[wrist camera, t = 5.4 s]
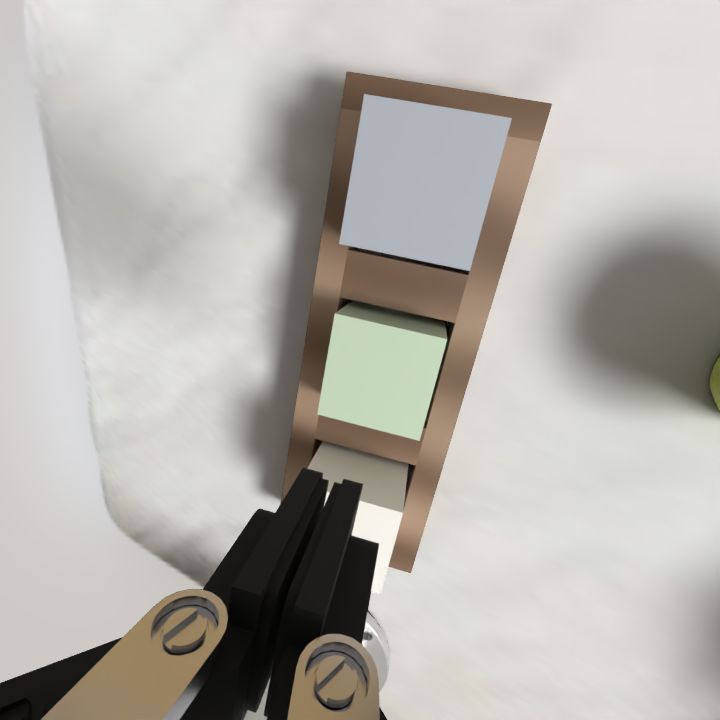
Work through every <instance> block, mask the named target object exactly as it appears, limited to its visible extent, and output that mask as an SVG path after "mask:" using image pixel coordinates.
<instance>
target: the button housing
mask: <svg viewBox="0 0 720 720" xmlns="http://www.w3.org/2000/svg"><path fill="white" fill-rule="evenodd" d="M364 94H367V95H373V96H380V97H386V98H392V99H398V100H404V101H410V102H416V103H423V104H429V105H435V106H441V107H447V108H453V109H459V110H465V111H472V112H478V113H484V114H490V115H496V116H502V117H508V118H512V120H511V123H510V127H509V131H508V134H507V138H506V141H505V145H504V149H503V152H502V156H501V160H500V163H499V167H498V170H497V174H496V178H495V181H494V185H493V189H492V192H491V196H490V199H489V203H488V207H487V210H486V214H485V218H484V221H483V225H482V229H481V232H480V236H479V239H478V243H477V247H476V250H475V254H474V258H473V261H472V265H471V268H470V271H467V270H464V271H461V270H456V269H451V268H446V267H442V266H437V265H432V264H427V263H422V262H418V261H413V260H408V259H403V258H398V257H394V256H389V255H384V254H379V253H374V252H370V251H365V250H360V249H358V248H357V247H352V246H347V245H342V244H339V241H340V235H341V229H342V224H343V218H344V212H345V206H346V200H347V194H348V188H349V182H350V176H351V170H352V164H353V158H354V152H355V146H356V140H357V134H358V128H359V122H360V116H361V110H362V104H363V98H364ZM551 105H552V104H550V103H544V102H538V101H531V100H525V99H518V98H512V97H506V96H499V95H493V94H487V93H480V92H474V91H468V90H461V89H455V88H449V87H442V86H436V85H430V84H423V83H417V82H410V81H404V80H398V79H391V78H385V77H379V76H372V75H366V74H360V73H353V72H347V73H346V79H345V86H344V92H343V99H342V105H341V112H340V118H339V125H338V131H337V138H336V144H335V151H334V158H333V164H332V171H331V177H330V184H329V190H328V197H327V203H326V210H325V216H324V223H323V229H322V236H321V242H320V249H319V255H318V262H317V269H316V275H315V282H314V288H313V295H312V301H311V308H310V314H309V321H308V327H307V334H306V340H305V347H304V353H303V360H302V367H301V373H300V380H299V386H298V393H297V399H296V406H295V412H294V419H293V425H292V432H291V438H290V445H289V451H288V458H287V464H286V471H285V478H284V484H283V491H282V497H281V503H282V501H283V500H284V498H285V496H286V495H287V493H288V491H289V490H290V488H291V486H292V485H293V483H294V481H295V480H296V478H297V476H298V475H299V473H300V471H301V470H302V468H308V466H309V465H310V463H311V461H312V459H313V457H314V456H315V454H316V452H317V450H318V448H319V447H320V445H321V443H322V441H326V442H330V443H333V444H337V445H341V446H345V447H348V448H352V449H356V450H360V451H363V452H367V453H371V454H374V455H378V456H382V457H386V458H389V459H393V460H397V461H401V462H404V463H408V464H412V465H411V469H410V472H409V476H408V480H407V483H406V491H405V500H404V509H403V515H402V519H401V522H400V526H399V530H398V533H397V537H396V541H395V544H394V548H393V551H392V555H391V559H390V562H389V567H392V568H395V569H399V570H402V571H405V572H409V573H411V571H412V567H413V564H414V561H415V557H416V554H417V551H418V547H419V544H420V541H421V537H422V534H423V531H424V527H425V524H426V521H427V517H428V514H429V511H430V507H431V504H432V501H433V497H434V494H435V491H436V487H437V484H438V481H439V478H440V474H441V471H442V468H443V464H444V461H445V458H446V454H447V451H448V448H449V444H450V441H451V438H452V434H453V431H454V428H455V424H456V421H457V418H458V414H459V411H460V408H461V404H462V401H463V398H464V394H465V391H466V388H467V384H468V381H469V378H470V375H471V371H472V368H473V365H474V361H475V358H476V355H477V351H478V348H479V345H480V341H481V338H482V335H483V331H484V328H485V325H486V321H487V318H488V315H489V311H490V308H491V305H492V301H493V298H494V295H495V291H496V288H497V285H498V281H499V278H500V275H501V272H502V268H503V265H504V262H505V258H506V255H507V252H508V248H509V245H510V242H511V238H512V235H513V232H514V228H515V225H516V222H517V218H518V215H519V212H520V208H521V205H522V202H523V198H524V195H525V192H526V188H527V185H528V182H529V179H530V175H531V172H532V169H533V165H534V162H535V159H536V155H537V152H538V149H539V145H540V142H541V139H542V135H543V132H544V129H545V125H546V122H547V119H548V115H549V112H550V109H551ZM349 299H350V300H355V301H359V302H364V303H368V304H373V305H377V306H382V307H386V308H390V309H395V310H399V311H404V312H408V313H413V314H417V315H422V316H426V317H431V318H435V319H440V320H444V321H449V322H450V325H449V328H448V332H447V342H446V346H445V350H444V353H443V357H442V361H441V364H440V368H439V372H438V375H437V379H436V383H435V386H434V390H433V394H432V397H431V401H430V405H429V408H428V412H427V416H426V419H425V423H424V427H423V430H422V434H421V438H420V441H418V440H414V439H410V438H406V437H403V436H399V435H395V434H391V433H387V432H383V431H379V430H376V429H372V428H368V427H364V426H360V425H356V424H353V423H349V422H345V421H341V420H337V419H333V418H329V417H326V416H322V415H318V414H317V413H318V407H319V401H320V396H321V390H322V384H323V378H324V373H325V367H326V361H327V355H328V350H329V344H330V338H331V332H332V327H333V321H334V315H335V313H336V312H338V311H339V310H340V309H342V308H343V307H344V306H346V305H347V304H348V302H349ZM280 505H281V504H280Z"/></svg>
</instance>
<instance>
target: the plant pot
mask: <svg viewBox="0 0 720 720" xmlns="http://www.w3.org/2000/svg"><path fill="white" fill-rule="evenodd" d="M710 390H711V392H712V395H713V398H714V400H715V402H716V405H717V407H718V409H719V410H720V356H719V357H718V359H717V361H716V363H715V365H714V367H713V370H712V373H711V376H710Z"/></svg>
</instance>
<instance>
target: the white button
mask: <svg viewBox="0 0 720 720" xmlns="http://www.w3.org/2000/svg"><path fill="white" fill-rule="evenodd" d="M307 469H311V470H314V471H318V472H322V473H323V478H322V479H326V480H329V484H328V489H327V494H326V499H325V503H326V501H327V498H328V496H329V494H330V491H331V489H332V487H333V484H334V482H337V483H340V484H342V481H343V479H347V480H351V481H354V482H358V483H362V484H363V488H362V492H361V496H360V501H359V505H358V509H357V514H356V518H355V522H354V527H353V531H352V536H355V537H359V538H362V539H365V540H369V541H372V542H376V543H379V548H378V554H377V560H376V566H375V571H374V577H373V583H372V589H371V592H374V593H377V594H380V595H381V591H382V588H383V584H384V580H385V577H386V573H387V570H388V566H389V562H390V559H391V555H392V551H393V548H394V544H395V541H396V537H397V533H398V530H399V526H400V522H401V519H402V515H403V509H404V500H405V491H406V482H407V473H408V463H404V462H401V461H397V460H393V459H389V458H386V457H382V456H378V455H374V454H371V453H367V452H363V451H360V450H356V449H352V448H348V447H345V446H341V445H337V444H333V443H330V442H326V441H322V443H321V445H320V447H319V448H318V450H317V452H316V454H315V456H314V457H313V459H312V461H311V463H310V465H309V466H308V468H307ZM324 506H325V504H324Z"/></svg>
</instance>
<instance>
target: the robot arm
mask: <svg viewBox="0 0 720 720" xmlns="http://www.w3.org/2000/svg"><path fill="white" fill-rule="evenodd" d="M322 478H323V473H322V472H318V471H314V470H311V469H307V468H302V470H301V471H300V473H299V475H298V476H297V478H296V480H295V481H294V483H293V485H292V486H291V488H290V490H289V491H288V493H287V495H286V496H285V498H284V500H283V501H282V503H281V505H280V506H279V508H278V510H277V511H276V513H273V512H270V511H266V510H263V509H258V510H257V511H256V512H255V513H254V515H253V516H252V518H251V519H250V521H249V522H248V524H247V525H246V527H245V528H244V530H243V531H242V532H241V534H240V535H239V537H238V538H237V540H236V541H235V543H234V544H233V546H232V547H231V549H230V550H229V552H228V553H227V555H226V556H225V558H224V559H223V560H222V562H221V563H220V565H219V566H218V568H217V569H216V571H215V572H214V574H213V575H212V577H211V578H210V580H209V581H208V583H207V584H206V585H205V587H204V588H203V590H202V589H188V590H184V591H179V592H176V593H174V594H172V595H170V596H167V597H165V598H164V599H163V600H161V601H160V602H159V603H158V604H156V605H155V606H154V607H153V608H152V609H151V610H150V611H149V612H148V613H147V614H146V615H145V616H144V617H143V618H142V619H141V620H140V621H139V622H138V623H137V624H136V625H135V626H134V627H133V628H132V629H131V630H130V631H129V632H128V633H127V634H126V635H125V636H124V637H122V638H119V639H117V640H114V641H111V642H109V643H106V644H103V645H101V646H98V647H96V648H93V649H90V650H87V651H85V652H82V653H80V654H77V655H74V656H71V657H69V658H66V659H63V660H61V661H58V662H55V663H53V664H50V665H47V666H45V667H42V668H40V669H37V670H34V671H32V672H29V673H26V674H23V675H21V676H18V677H15V678H13V679H10V680H7V681H5V682H2V683H0V720H387V719H386V717H385V715H384V713H383V712H382V710H381V708H380V707H379V692H380V691H381V690H382V688H383V687H384V685H385V683H386V681H387V676H388V671H389V659H390V653H389V647H388V642H387V640H386V638H385V635H384V633H383V631H382V629H381V628H380V626H379V625H378V623H377V622H376V620H375V619H374V618H373V617H372V616H371V615H370V614H369V613H368V606H369V600H370V594H371V589H372V583H373V577H374V571H375V566H376V560H377V554H378V548H379V543H376V542H372V541H369V540H365V539H362V538H359V537H355V536H352V531H353V527H354V522H355V518H356V514H357V509H358V505H359V501H360V496H361V492H362V488H363V484H362V483H358V482H354V481H351V480H347V479H343V481H342V484H340V483H337V482H334V484H333V487H332V489H331V491H330V494H329V496H328V498H327V501H326V503H325V499H326V494H327V489H328V484H329V480H326V479H322ZM324 504H325V506H324Z"/></svg>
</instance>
